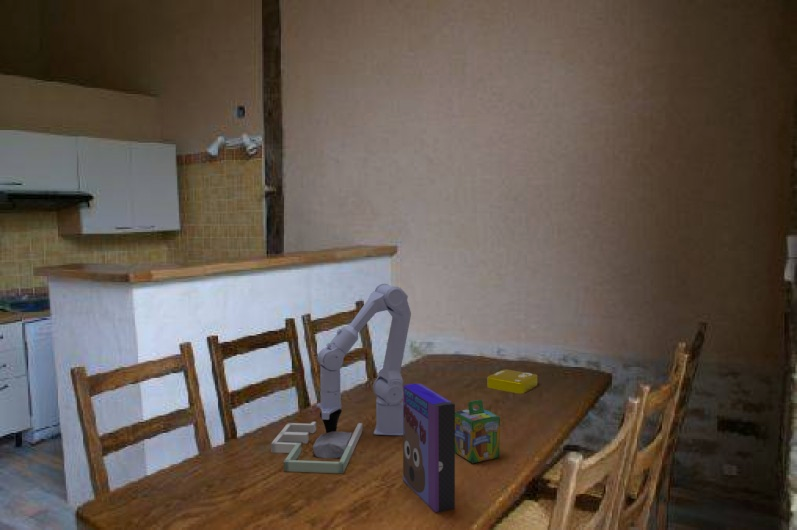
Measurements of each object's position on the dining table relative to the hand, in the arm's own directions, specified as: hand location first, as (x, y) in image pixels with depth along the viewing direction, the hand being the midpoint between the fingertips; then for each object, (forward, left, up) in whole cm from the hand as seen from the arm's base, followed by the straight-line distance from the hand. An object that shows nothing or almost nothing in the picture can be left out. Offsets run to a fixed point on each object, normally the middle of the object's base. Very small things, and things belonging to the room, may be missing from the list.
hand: (331, 435), depth 174 cm
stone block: (-2, +7, -2) cm, 7 cm away
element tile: (-57, -60, -2) cm, 83 cm away
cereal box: (-30, +31, -2) cm, 43 cm away
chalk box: (-42, +7, -2) cm, 42 cm away
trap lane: (+3, +7, -1) cm, 8 cm away
